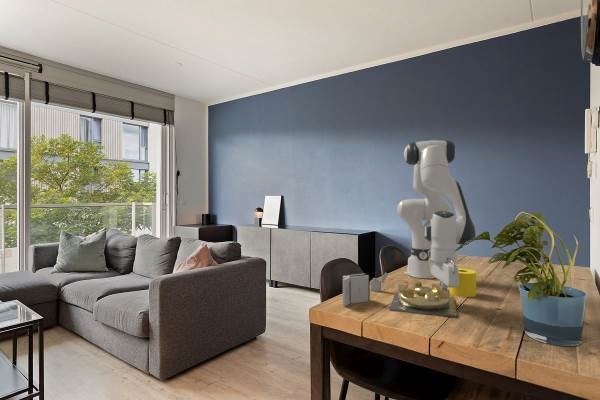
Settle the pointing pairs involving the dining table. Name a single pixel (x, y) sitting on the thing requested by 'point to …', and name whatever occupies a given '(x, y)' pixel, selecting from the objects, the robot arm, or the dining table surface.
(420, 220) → the robot arm
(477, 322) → the dining table surface
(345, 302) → the grey and black block
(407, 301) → the gold radial fin assembly
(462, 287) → the yellow toilet paper roll
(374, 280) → the grey angled block
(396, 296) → the base plate
